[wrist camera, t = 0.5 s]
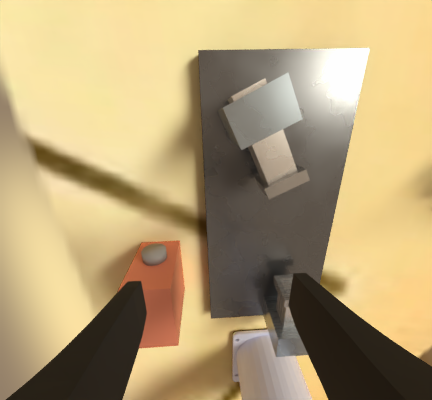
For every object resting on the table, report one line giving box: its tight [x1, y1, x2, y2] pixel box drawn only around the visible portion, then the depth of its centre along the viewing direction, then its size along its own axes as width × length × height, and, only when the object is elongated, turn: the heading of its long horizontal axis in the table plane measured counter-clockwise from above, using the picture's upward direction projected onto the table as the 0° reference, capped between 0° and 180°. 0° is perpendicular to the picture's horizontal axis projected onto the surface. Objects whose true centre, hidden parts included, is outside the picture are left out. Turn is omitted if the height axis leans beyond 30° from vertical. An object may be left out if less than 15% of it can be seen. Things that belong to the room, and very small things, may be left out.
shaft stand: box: [198, 48, 370, 357], centre depth 16 cm, size 24×12×6 cm, turn 2°
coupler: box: [118, 241, 185, 348], centre depth 18 cm, size 8×4×6 cm, turn 2°
